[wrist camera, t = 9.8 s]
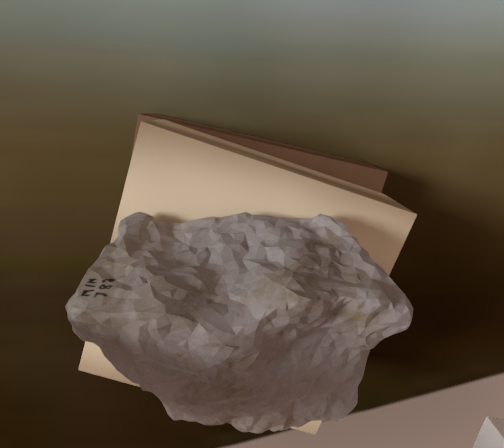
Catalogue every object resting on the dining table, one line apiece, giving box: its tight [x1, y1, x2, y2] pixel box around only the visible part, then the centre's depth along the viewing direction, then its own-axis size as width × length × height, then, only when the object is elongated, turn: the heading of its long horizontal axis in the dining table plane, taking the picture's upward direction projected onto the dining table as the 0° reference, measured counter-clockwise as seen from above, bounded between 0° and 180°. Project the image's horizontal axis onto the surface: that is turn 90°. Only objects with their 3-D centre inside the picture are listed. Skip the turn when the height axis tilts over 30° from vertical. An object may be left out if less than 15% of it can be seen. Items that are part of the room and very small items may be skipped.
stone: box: [65, 212, 413, 433], centre depth 13 cm, size 8×10×6 cm
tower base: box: [132, 113, 388, 193], centre depth 22 cm, size 12×12×4 cm
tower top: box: [78, 119, 417, 435], centre depth 18 cm, size 11×11×4 cm
